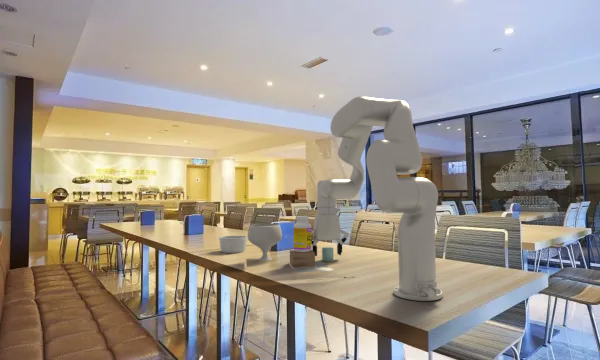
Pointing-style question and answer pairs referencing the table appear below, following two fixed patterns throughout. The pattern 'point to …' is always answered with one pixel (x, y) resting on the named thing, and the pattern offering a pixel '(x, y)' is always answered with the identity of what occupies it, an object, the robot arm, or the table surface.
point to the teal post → (327, 254)
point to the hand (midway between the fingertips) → (327, 254)
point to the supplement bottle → (302, 235)
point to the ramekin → (233, 244)
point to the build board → (313, 268)
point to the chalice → (264, 237)
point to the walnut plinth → (302, 259)
